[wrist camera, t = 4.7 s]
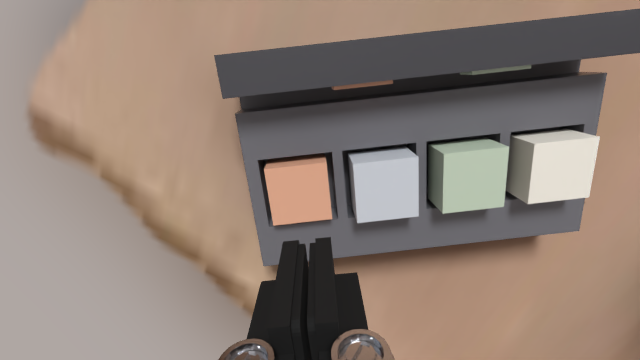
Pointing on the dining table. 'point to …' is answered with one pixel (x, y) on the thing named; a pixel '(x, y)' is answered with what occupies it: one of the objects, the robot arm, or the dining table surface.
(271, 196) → the key terracotta
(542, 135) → the key cream
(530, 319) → the dining table surface
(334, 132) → the keypad
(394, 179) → the key slate
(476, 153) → the key sage
